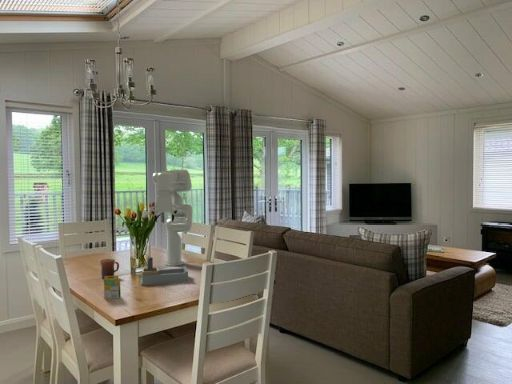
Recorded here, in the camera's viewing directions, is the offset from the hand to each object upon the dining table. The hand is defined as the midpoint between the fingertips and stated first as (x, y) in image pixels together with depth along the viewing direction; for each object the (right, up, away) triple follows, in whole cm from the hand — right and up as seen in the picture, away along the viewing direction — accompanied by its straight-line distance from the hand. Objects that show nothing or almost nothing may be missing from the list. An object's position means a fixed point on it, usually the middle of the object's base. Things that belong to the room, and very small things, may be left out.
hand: (164, 221), depth 241 cm
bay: (+2, -34, -9) cm, 35 cm away
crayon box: (-17, -36, -41) cm, 57 cm away
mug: (-32, -34, -1) cm, 47 cm away
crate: (-6, -32, -11) cm, 35 cm away
